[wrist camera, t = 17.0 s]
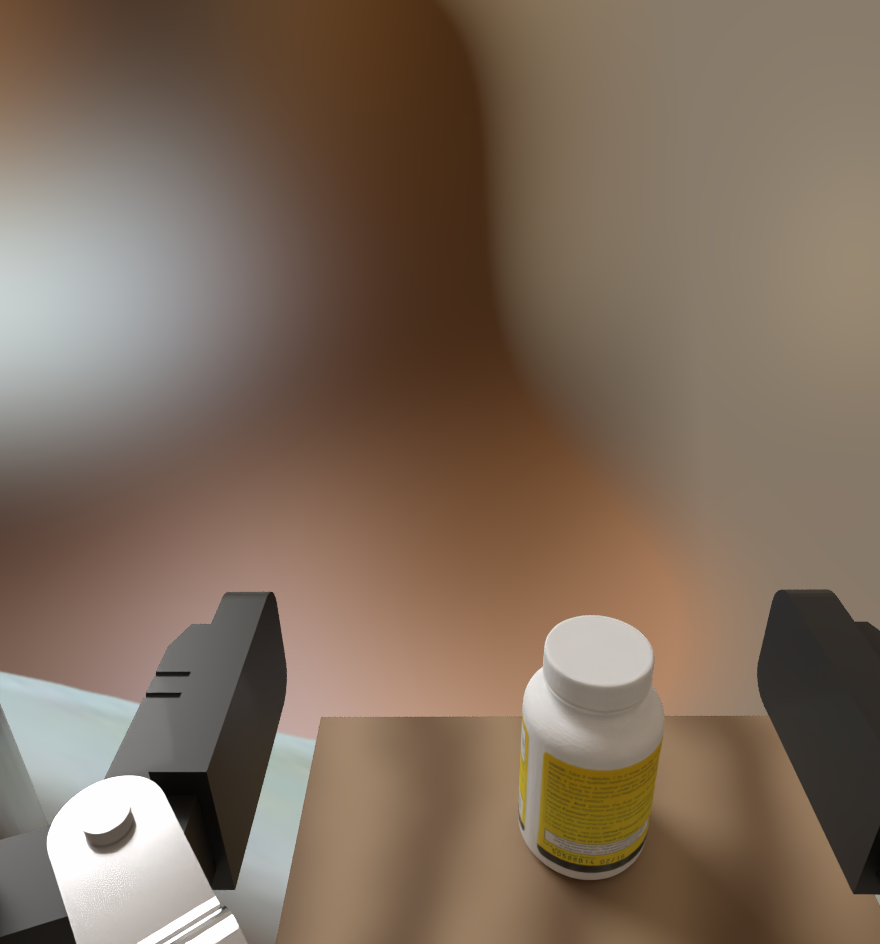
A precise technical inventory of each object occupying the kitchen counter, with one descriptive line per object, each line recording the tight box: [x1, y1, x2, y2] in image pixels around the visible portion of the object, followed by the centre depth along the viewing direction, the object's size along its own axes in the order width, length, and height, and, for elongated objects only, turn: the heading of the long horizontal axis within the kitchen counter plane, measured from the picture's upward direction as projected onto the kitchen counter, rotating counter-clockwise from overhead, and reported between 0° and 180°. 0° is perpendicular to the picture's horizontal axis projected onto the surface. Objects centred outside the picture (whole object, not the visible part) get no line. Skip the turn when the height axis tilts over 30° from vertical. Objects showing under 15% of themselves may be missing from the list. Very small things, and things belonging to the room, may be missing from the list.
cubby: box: [276, 716, 880, 944], centre depth 37 cm, size 23×12×15 cm, turn 89°
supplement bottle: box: [518, 615, 664, 880], centre depth 31 cm, size 5×5×10 cm
